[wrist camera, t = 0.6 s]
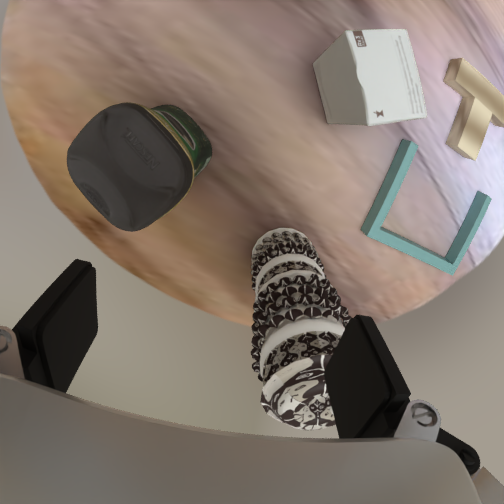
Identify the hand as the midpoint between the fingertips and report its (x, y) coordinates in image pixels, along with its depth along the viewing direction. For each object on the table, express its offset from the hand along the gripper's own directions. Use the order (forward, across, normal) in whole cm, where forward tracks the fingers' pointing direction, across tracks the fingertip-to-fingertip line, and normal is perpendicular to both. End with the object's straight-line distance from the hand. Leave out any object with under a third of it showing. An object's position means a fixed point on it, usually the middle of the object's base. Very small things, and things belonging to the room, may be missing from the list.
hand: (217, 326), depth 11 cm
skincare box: (+30, -10, -13) cm, 34 cm away
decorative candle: (+29, -8, +10) cm, 32 cm away
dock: (+29, -27, -3) cm, 40 cm away
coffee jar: (+30, +8, -2) cm, 31 cm away
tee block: (+29, -29, -18) cm, 45 cm away
